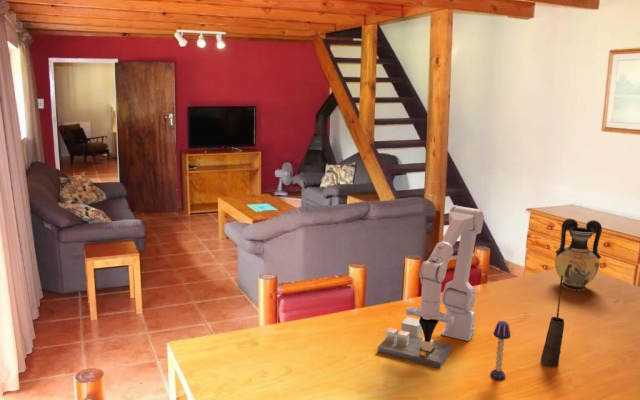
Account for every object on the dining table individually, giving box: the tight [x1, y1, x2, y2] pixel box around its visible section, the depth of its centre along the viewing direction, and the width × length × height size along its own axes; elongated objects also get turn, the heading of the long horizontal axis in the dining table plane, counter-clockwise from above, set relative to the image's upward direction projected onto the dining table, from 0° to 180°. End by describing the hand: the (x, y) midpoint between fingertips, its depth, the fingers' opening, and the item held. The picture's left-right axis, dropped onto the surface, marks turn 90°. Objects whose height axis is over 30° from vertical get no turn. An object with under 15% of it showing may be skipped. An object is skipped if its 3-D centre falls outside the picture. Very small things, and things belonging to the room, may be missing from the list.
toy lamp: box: [489, 320, 511, 381], centre depth 160 cm, size 5×5×17 cm
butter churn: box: [540, 275, 565, 368], centre depth 166 cm, size 9×10×28 cm
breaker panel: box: [377, 327, 453, 370], centre depth 174 cm, size 20×13×6 cm, turn 62°
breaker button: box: [421, 337, 435, 353], centre depth 172 cm, size 3×3×3 cm
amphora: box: [554, 218, 603, 292], centre depth 232 cm, size 18×17×30 cm
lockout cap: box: [401, 316, 423, 338], centre depth 187 cm, size 6×6×4 cm
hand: (427, 340), depth 172 cm, fingers closed, pressing on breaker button
